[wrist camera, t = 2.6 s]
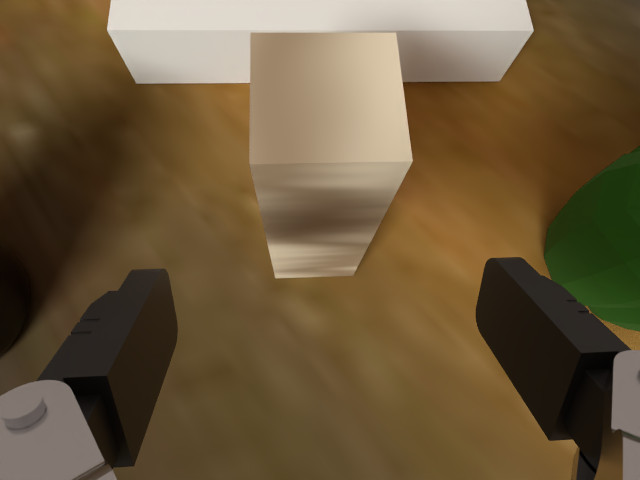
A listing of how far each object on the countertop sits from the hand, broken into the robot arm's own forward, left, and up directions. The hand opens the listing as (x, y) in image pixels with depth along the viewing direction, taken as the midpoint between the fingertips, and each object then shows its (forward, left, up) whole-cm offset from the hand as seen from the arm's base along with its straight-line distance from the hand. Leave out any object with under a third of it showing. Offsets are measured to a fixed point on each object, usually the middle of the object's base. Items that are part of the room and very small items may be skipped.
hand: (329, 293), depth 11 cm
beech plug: (0, -5, -11) cm, 12 cm away
